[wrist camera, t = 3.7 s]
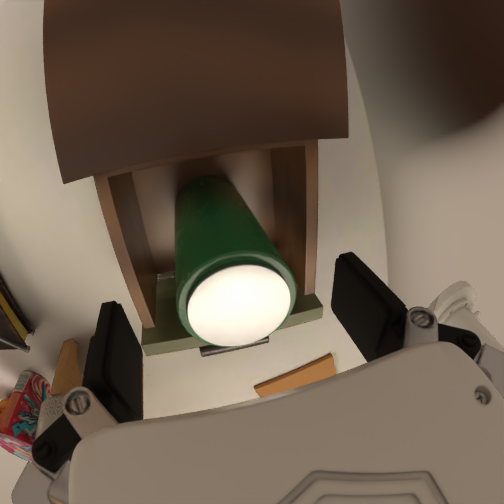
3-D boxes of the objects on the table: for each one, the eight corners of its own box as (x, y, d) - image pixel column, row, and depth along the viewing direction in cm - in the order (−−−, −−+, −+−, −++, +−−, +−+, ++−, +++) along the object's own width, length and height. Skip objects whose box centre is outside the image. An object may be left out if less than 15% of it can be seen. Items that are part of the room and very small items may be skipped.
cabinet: (286, 122, 22) (348, 138, 14) (106, 151, 19) (63, 184, 11) (272, -30, 14) (323, -81, 6) (92, -9, 12) (52, -57, 4)
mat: (330, 353, 39) (332, 356, 38) (335, 375, 42) (336, 378, 42) (253, 386, 38) (254, 389, 38) (267, 405, 42) (268, 408, 41)
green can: (238, 170, 21) (300, 243, 11) (244, 231, 24) (298, 337, 13) (169, 181, 20) (162, 270, 10) (181, 243, 23) (192, 361, 13)
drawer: (288, 298, 30) (318, 352, 23) (161, 324, 28) (163, 387, 21) (282, 120, 21) (331, 130, 14) (110, 147, 19) (77, 171, 12)
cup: (55, 404, 32) (47, 469, 22) (9, 381, 28) (-7, 445, 18) (67, 378, 30) (56, 455, 20) (14, 351, 26) (-9, 425, 16)
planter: (94, 405, 33) (92, 512, 18) (35, 351, 26) (7, 477, 12) (166, 387, 34) (182, 512, 19) (109, 324, 27) (94, 486, 12)
